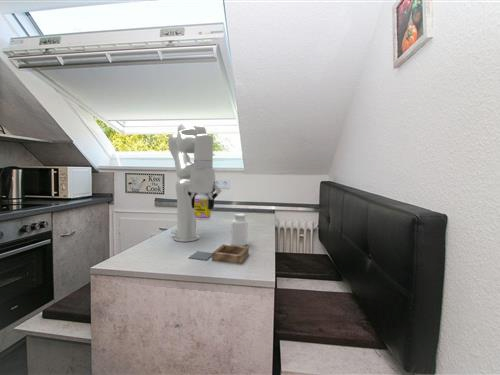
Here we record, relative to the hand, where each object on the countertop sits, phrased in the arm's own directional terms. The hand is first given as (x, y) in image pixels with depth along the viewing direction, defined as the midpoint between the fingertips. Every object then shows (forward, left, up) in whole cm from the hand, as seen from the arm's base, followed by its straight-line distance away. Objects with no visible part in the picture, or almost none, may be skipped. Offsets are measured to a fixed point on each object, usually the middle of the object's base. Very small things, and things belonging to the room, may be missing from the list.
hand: (202, 208), depth 97 cm
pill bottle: (+10, +21, -21) cm, 31 cm away
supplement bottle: (0, 0, -5) cm, 5 cm away
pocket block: (+12, +3, -20) cm, 24 cm away
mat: (0, 0, -20) cm, 20 cm away
